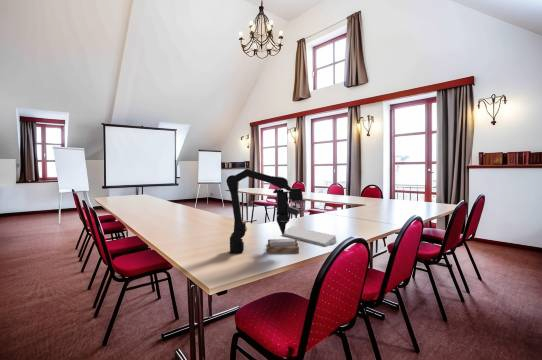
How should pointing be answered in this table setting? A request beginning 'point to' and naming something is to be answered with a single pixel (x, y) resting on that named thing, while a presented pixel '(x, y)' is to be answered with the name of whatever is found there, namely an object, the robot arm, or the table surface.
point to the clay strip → (283, 243)
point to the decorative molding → (310, 236)
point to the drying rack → (282, 248)
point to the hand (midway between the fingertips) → (282, 231)
